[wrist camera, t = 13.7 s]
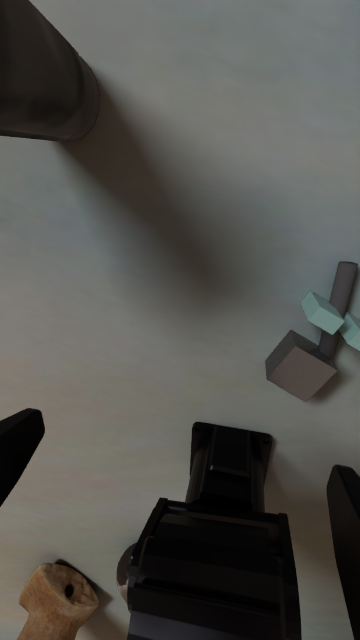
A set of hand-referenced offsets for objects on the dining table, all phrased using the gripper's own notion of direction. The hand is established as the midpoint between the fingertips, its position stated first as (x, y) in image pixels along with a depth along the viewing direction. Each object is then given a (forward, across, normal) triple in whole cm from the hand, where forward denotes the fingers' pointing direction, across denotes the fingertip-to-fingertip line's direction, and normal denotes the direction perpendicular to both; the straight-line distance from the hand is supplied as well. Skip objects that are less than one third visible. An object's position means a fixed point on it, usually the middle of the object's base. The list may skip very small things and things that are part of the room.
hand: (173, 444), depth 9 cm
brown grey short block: (+13, -6, +4) cm, 15 cm away
